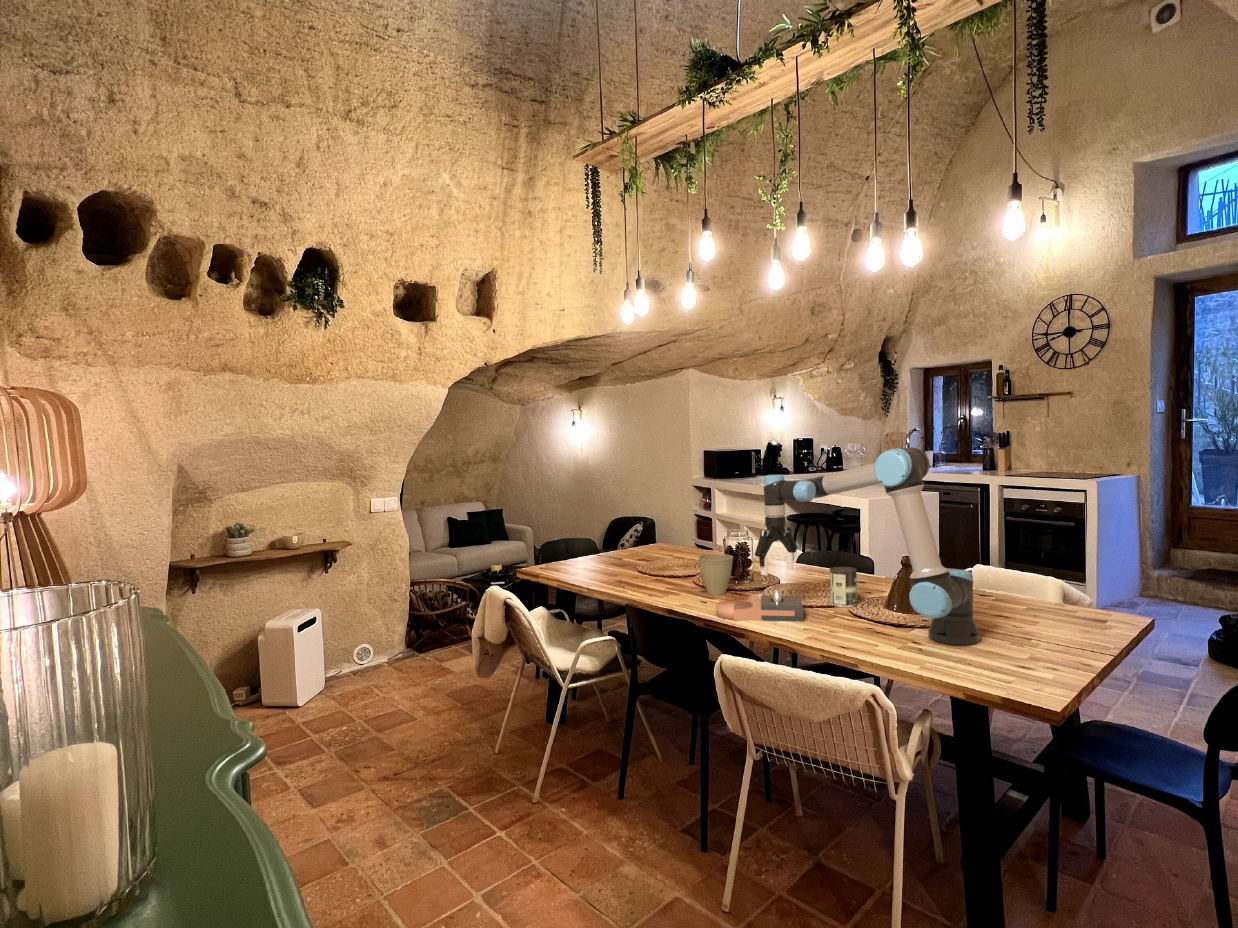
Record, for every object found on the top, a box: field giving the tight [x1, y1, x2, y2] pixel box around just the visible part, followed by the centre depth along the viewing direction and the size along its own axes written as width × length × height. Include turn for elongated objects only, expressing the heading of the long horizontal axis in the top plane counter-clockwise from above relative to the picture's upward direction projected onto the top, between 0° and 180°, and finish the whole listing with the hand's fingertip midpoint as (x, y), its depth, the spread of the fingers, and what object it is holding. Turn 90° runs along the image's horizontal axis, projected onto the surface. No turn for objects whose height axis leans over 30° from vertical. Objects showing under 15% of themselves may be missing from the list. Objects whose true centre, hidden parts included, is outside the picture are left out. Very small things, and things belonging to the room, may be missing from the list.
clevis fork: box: [760, 594, 804, 623], centre depth 261 cm, size 14×15×6 cm
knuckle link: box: [715, 599, 795, 622], centre depth 263 cm, size 14×29×4 cm, turn 78°
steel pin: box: [772, 588, 782, 602], centre depth 261 cm, size 3×3×10 cm
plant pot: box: [698, 553, 734, 596], centre depth 299 cm, size 15×15×16 cm
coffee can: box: [829, 566, 858, 608], centre depth 274 cm, size 10×10×14 cm
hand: (777, 572), depth 260 cm, fingers open, 13 cm apart
